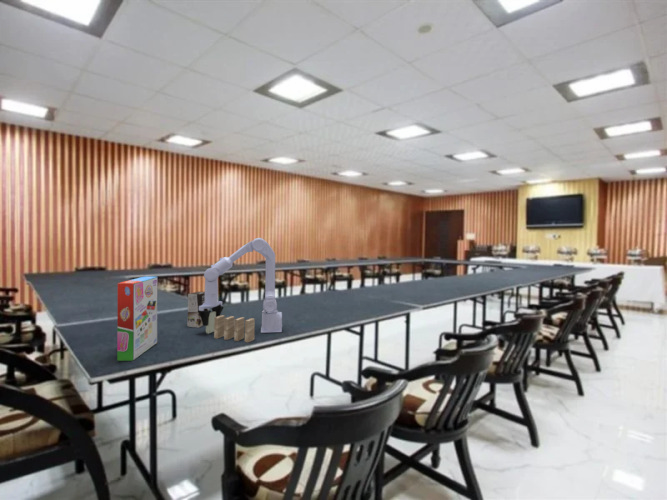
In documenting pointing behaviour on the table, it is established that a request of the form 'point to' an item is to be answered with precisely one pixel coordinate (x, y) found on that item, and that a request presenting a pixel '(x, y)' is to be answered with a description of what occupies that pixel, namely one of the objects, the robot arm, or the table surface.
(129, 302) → the game box
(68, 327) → the table surface
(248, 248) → the robot arm
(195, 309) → the coffee box
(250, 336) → the domino
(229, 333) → the domino
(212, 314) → the domino
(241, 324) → the domino
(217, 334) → the domino
